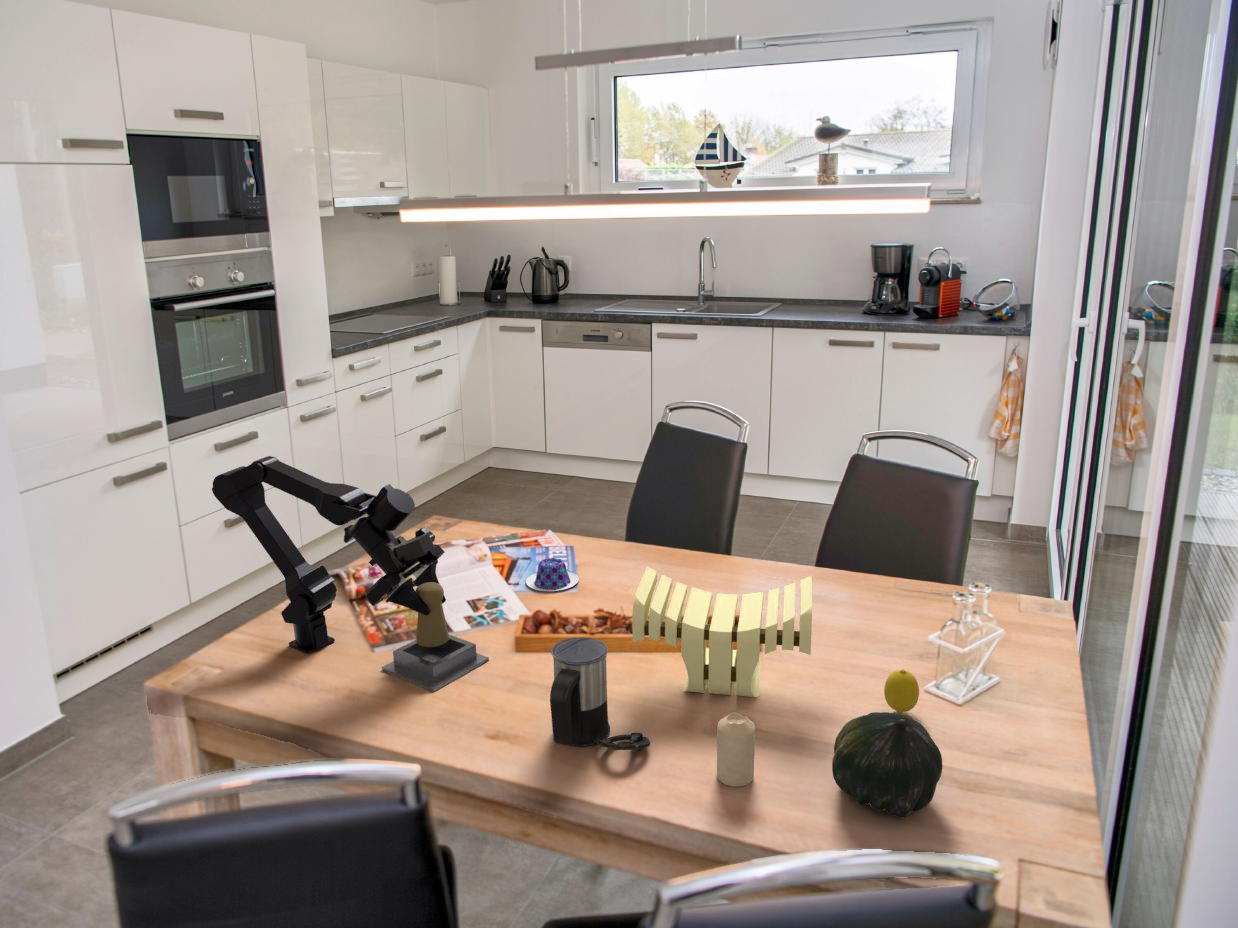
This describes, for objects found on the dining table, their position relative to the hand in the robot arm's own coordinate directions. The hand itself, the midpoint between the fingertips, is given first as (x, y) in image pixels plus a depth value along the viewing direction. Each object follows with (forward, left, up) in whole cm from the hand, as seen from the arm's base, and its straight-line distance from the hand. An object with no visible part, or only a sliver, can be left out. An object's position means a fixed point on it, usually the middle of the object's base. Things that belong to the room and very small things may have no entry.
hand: (436, 608), depth 167 cm
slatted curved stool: (+46, +26, -12) cm, 54 cm away
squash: (+82, +10, -12) cm, 83 cm away
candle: (+62, +2, -12) cm, 63 cm away
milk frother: (+39, -2, -12) cm, 41 cm away
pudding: (-8, +42, -12) cm, 44 cm away
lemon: (+76, +33, -12) cm, 83 cm away
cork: (-1, 0, -7) cm, 7 cm away
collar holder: (-1, 0, -12) cm, 12 cm away
